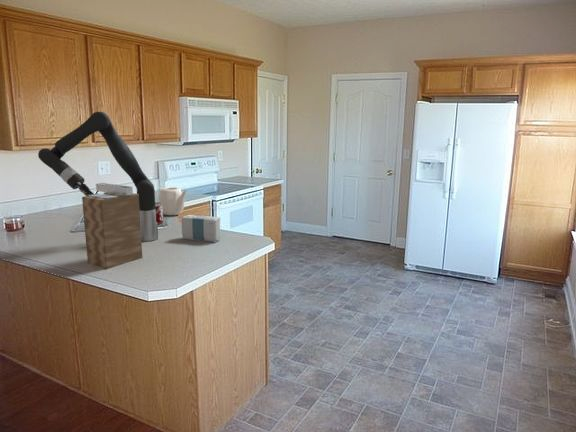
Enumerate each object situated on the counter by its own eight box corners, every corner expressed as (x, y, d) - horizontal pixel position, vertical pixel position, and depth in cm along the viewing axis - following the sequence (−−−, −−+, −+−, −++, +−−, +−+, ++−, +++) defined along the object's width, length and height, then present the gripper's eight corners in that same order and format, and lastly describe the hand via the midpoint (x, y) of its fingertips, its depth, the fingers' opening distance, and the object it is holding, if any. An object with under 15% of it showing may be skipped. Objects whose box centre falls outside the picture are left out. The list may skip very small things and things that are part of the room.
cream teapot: (179, 218, 303) (178, 191, 299) (152, 214, 316) (150, 187, 312) (195, 214, 316) (194, 188, 312) (168, 210, 329) (167, 185, 325)
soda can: (152, 224, 285) (151, 206, 282) (152, 222, 291) (151, 204, 288) (163, 224, 286) (162, 205, 284) (163, 221, 293) (162, 204, 290)
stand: (87, 263, 207) (81, 196, 200) (123, 253, 224) (119, 190, 217) (107, 268, 200) (101, 199, 193) (142, 257, 217) (138, 193, 210)
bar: (96, 190, 215) (95, 183, 214) (102, 190, 218) (102, 182, 217) (126, 195, 204) (126, 187, 203) (132, 194, 207) (132, 186, 206)
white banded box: (181, 239, 250) (180, 205, 246) (189, 236, 258) (187, 202, 253) (215, 243, 244) (214, 207, 240) (221, 239, 252) (221, 205, 247)
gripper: (69, 187, 232) (92, 208, 232) (63, 178, 218) (87, 201, 219) (81, 177, 234) (103, 198, 235) (75, 168, 221) (99, 190, 221)
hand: (95, 199), depth 227 cm, fingers open, 8 cm apart
